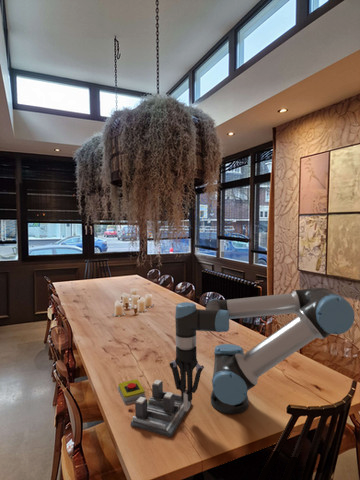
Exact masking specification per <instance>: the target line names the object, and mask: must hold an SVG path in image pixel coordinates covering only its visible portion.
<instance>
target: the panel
mask: <svg viewBox="0 0 360 480" xmlns="http://www.w3.org/2000/svg"><path fill="white" fill-rule="evenodd" d="M167 392H168V391H165V390H163V397H164V396H165V394H166V393H167ZM173 394H174V403H175V410H174V411H173V413H170V412H166V411H163V397H162V398H161V399H159V398H155V397H152V396H150V397H149V398H147V410H148V415H147V416H146V418H145V419H143V418H139V417H136V416H135V415H133V416H132V420H131V421H130V426H131V427H133V428H137V429H140V430H144V431H148V432H151V433H154V434H158V435H160V436H164V437H168V438H172V437H173V436H174V434H175V432H176V430H177V428H178V427H179V426H180V424H181V422H182V420H183V419H184V417H185V416H186V414H187V413H188V411H184V400H182V399H181V394H177V393H173ZM192 402H193V399H192V400H191V402H190V407H191V405H192Z"/></svg>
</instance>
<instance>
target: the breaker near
mask: <svg viewBox="0 0 360 480" xmlns="http://www.w3.org/2000/svg"><path fill="white" fill-rule="evenodd" d="M147 402H148V398H147V397H146V398H144V397H140V398H139V399H138V400H137V401H136V402H135V403H134V405H135V406H134V410H135V412H134V416H136V417H139V418H143V419H145V418H146V416H147V415H148V410H147Z"/></svg>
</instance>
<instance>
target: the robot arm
mask: <svg viewBox="0 0 360 480" xmlns="http://www.w3.org/2000/svg"><path fill="white" fill-rule="evenodd" d="M290 314H295V315H296V317H295V318H293V319H292V320H290V321H288V322H287V323H286V324H285V325H283V326H282V327H281V328H279V329H278V330H276V331H275V332H274V333H272V334H270V335H268V337H266V338H264V340H262V341H261V342H259V343H258V344H256V345H255V346H253V347H252V348H251V349H250V350H248V351H247V352H245V353H244V349H243V347H241V346H240V345H237V344H231V343H222V344H218V345H216V346H215V347H214V352H213V354H214V365H213V373H212V379H211V384H212V390H211V393H210V404H211V406H212V407H213V408H214V410H216V411H218V412H220V413H223V414H227V415H237V414H241V413H243V412H245V411H247V410H248V408H249V405H250V404H249V401H250V400H249V395H248V392H249V390H251V389H253V388H254V387H255V386H256V385H258V379H259V377H261V376H262V375H264V374H265V373H267V372H269V371H270V370H271V369H273V368H274V367H276V366H277V365H278V364H280V363H282V362H283V361H285V359H287V358H289V357H291V356H292V355H293V354H294V353H296V352H297V351H299V350H301V348H303V347H305V346H306V345H308V344H310V343H311V342H312V341H313V340H315V339H320V340H325V339H326V338H328V337H329V336H330V335H341V334H344V333H347V332H348V331H349V330H350V329H351V328H352V327H353V325H354V322H355V310H354V308H353V306H352V305H351V303H350V302H349V301H348V300H346V299H345V298H344V296H342V295H340V294H338V293H335V291H332V290H331V289H329V288H326V287H312V288H311V287H310V288H309V287H308V288H301V289H294V290H292V291H291V292H290V293H289V292H288V293H282V294H281V293H279V294H271V295H262V296H251V297H243V298H242V297H241V298H233V299H222V300H221V299H218V298H212V299H210V300H209V301H208V302H207V304H206V305H205V308H204V309H199V308H197V305H196V304H195V303H194V302H189V301H185V302H179V303H178V304H176V306H175V316H174V318H175V319H174V320H175V322H174V323H175V359H174V360H172V361H171V362H169V367H170V369H171V372H172V375H173V380H174V385H175V388H176V390H178V391H180V395H181V399H182V400H184V411H187V412H188V411H189V410H190V408H191V406H190V402H191V400H192V401H193V394H195V393H196V391H197V390H198V386H199V382H200V378H201V374H202V372H203V370H204V368H205V367H204V365H201V364H200V363H199V361H198V359H197V356H198V355H197V353H198V352H197V332H214V333H215V332H216V333H225V332H226V333H227V332H229V330H230V320H232V319H244V318H256V317H266V316H267V317H268V316H278V315H290ZM194 369H195V371H196V373H195V377H194V380H193V375H194V374H193V373H194Z"/></svg>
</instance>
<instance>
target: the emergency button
mask: <svg viewBox="0 0 360 480" xmlns="http://www.w3.org/2000/svg"><path fill="white" fill-rule="evenodd" d="M117 391H118V393H119V395H120V397H121V400H122V403H124V405H125V406H126V405H131V404H135V403H136V401H137V400H138V399H139V398H140V397H144V398H146V399H147V397H146V393H145V392H146V391H145V389H144V387H143V385H142V384H141V382H140V380H139V379H135V378H134V379H132V380H127V381H123V382H119V383H118V385H117Z"/></svg>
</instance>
